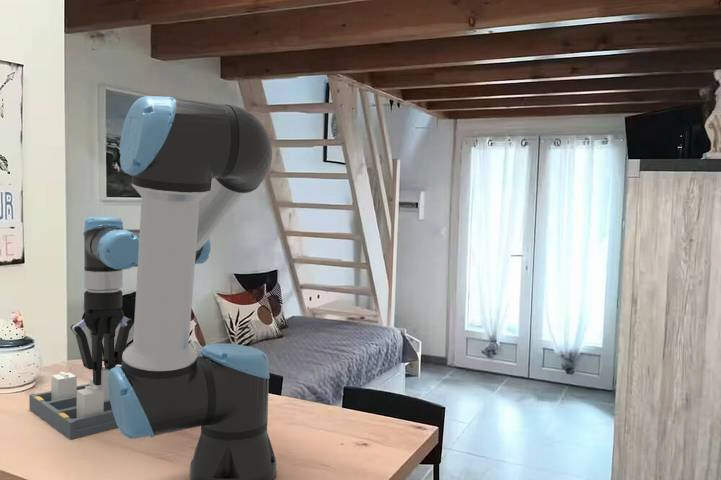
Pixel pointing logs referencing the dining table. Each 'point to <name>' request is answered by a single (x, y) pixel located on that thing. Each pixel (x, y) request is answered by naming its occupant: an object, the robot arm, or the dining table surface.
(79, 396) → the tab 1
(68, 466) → the dining table surface
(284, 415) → the dining table surface
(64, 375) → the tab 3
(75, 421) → the divided tray
